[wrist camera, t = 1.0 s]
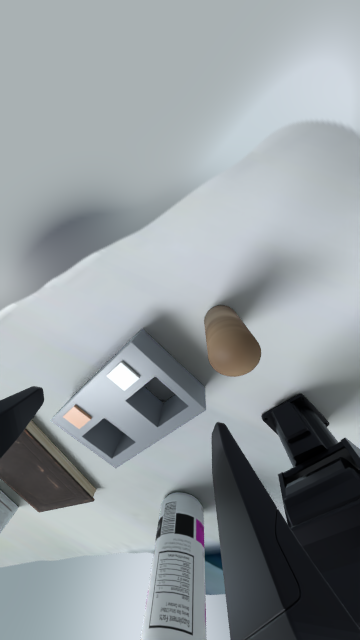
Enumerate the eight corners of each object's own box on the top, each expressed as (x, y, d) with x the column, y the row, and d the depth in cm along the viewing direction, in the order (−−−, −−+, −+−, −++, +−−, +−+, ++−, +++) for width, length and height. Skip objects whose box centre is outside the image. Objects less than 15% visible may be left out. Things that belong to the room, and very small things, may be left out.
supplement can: (212, 504, 33) (223, 688, 19) (186, 520, 35) (178, 692, 21) (178, 484, 32) (163, 662, 18) (154, 502, 34) (123, 669, 20)
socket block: (204, 386, 24) (206, 412, 20) (126, 441, 29) (114, 470, 25) (142, 328, 22) (129, 343, 18) (70, 398, 27) (48, 422, 23)
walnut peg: (244, 322, 21) (271, 357, 13) (218, 342, 22) (230, 384, 14) (222, 298, 20) (238, 320, 12) (197, 320, 21) (197, 353, 14)
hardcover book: (25, 405, 30) (11, 417, 28) (99, 486, 35) (93, 501, 33) (-30, 428, 34) (-46, 440, 31) (45, 499, 39) (37, 513, 37)
